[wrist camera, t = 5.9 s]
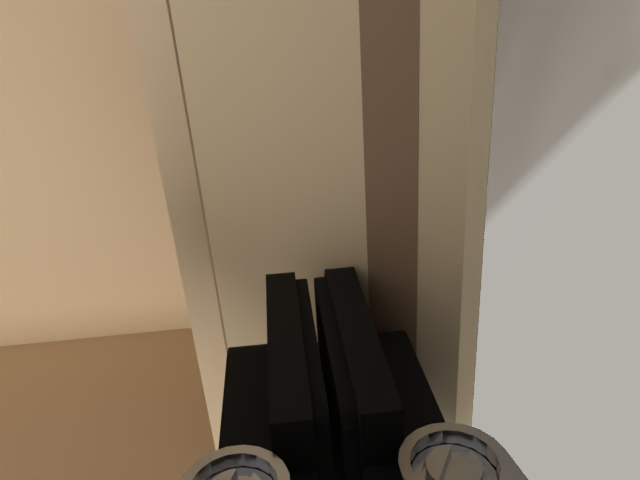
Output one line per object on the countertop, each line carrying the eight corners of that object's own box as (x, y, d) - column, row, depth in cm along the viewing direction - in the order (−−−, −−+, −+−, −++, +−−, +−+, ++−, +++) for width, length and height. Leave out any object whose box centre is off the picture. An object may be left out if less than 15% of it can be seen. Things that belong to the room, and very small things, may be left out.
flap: (166, -191, 10) (522, -338, 6) (268, 482, 17) (458, 629, 13) (135, -196, 9) (492, -358, 5) (252, 495, 17) (443, 652, 13)
